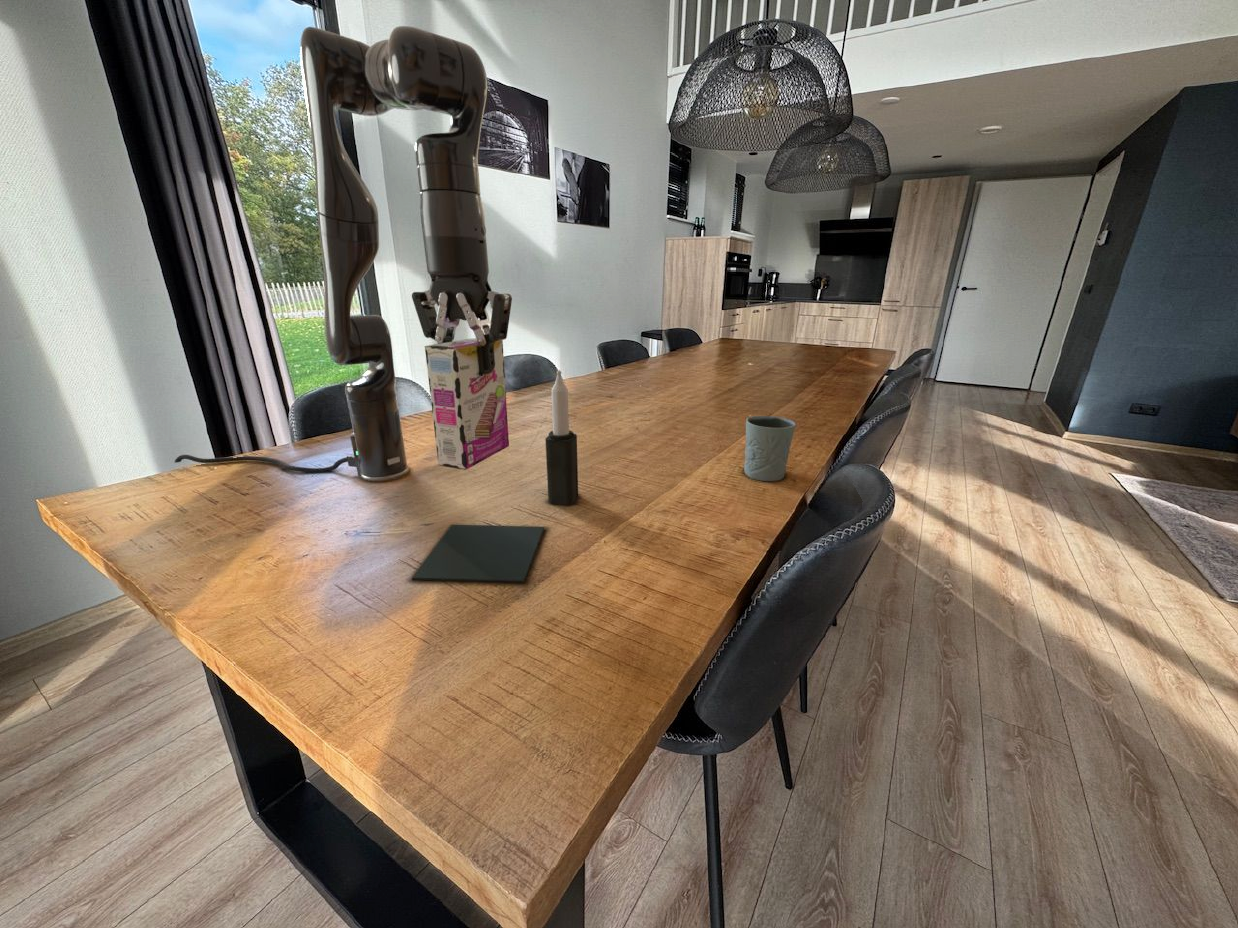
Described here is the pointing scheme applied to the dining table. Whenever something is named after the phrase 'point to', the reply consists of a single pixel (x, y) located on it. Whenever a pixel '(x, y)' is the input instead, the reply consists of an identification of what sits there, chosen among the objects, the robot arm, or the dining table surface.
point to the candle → (561, 450)
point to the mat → (482, 554)
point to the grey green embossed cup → (767, 447)
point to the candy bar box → (466, 403)
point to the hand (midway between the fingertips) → (468, 371)
